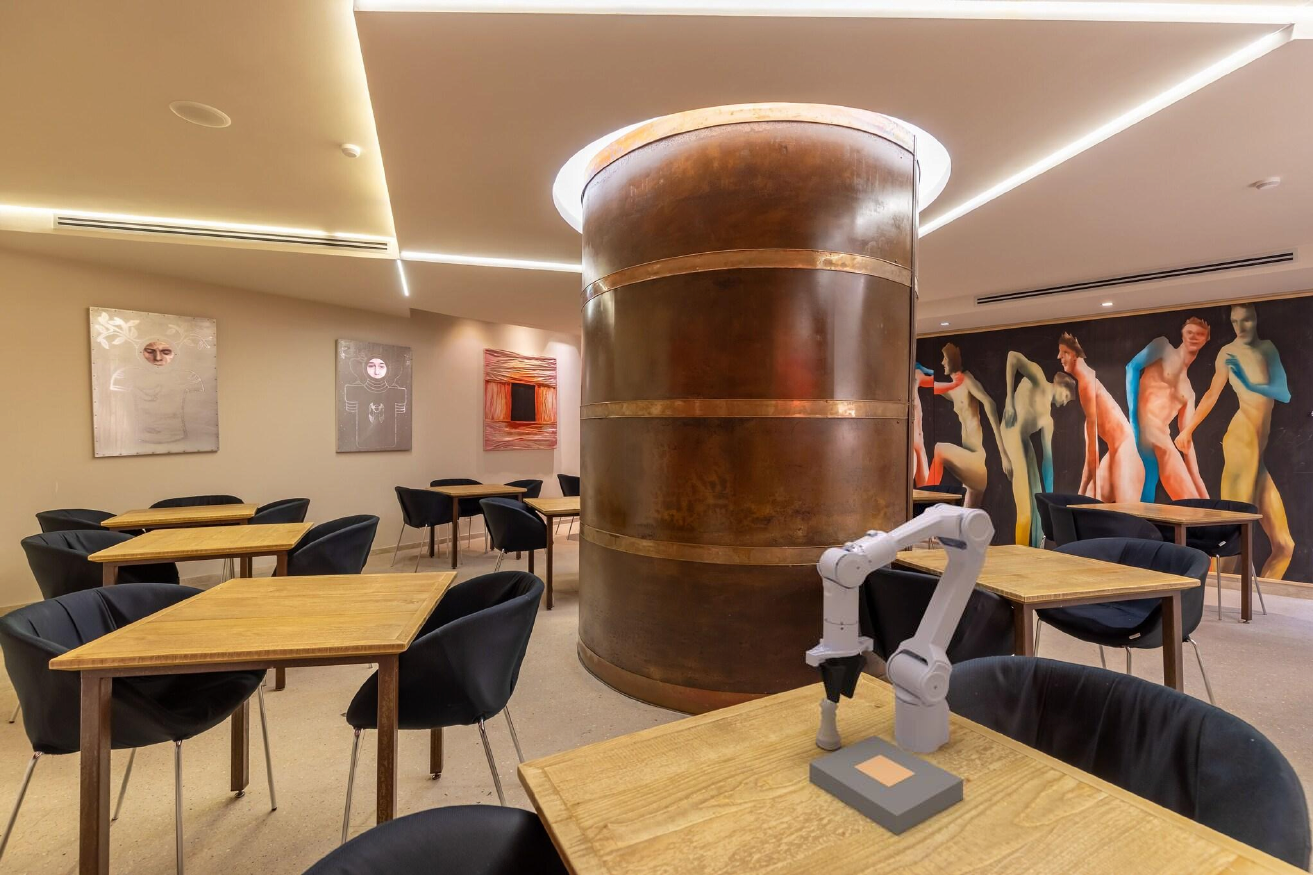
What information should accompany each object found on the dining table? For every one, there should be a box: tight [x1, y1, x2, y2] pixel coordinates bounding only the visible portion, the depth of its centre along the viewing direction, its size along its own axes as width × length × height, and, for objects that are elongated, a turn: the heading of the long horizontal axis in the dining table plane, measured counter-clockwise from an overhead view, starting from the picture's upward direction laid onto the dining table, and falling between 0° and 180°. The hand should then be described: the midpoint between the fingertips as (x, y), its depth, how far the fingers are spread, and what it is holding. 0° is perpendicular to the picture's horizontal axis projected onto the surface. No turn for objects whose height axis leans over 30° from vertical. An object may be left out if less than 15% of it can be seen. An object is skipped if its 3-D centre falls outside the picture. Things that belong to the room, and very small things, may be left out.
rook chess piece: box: [815, 696, 842, 751], centre depth 108 cm, size 4×4×8 cm
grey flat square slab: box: [808, 734, 964, 836], centre depth 95 cm, size 16×16×3 cm
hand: (839, 698), depth 105 cm, fingers open, 3 cm apart
